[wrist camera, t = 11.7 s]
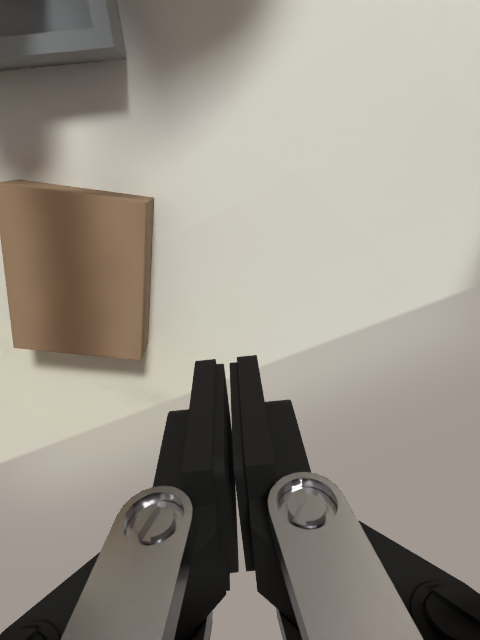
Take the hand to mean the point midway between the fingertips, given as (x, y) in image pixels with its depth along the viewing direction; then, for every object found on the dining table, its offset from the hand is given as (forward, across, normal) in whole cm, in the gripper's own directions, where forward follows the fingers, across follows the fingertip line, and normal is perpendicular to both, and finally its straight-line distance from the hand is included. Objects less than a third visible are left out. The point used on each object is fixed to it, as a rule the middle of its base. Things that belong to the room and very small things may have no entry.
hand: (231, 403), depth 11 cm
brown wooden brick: (+16, +9, 0) cm, 19 cm away
